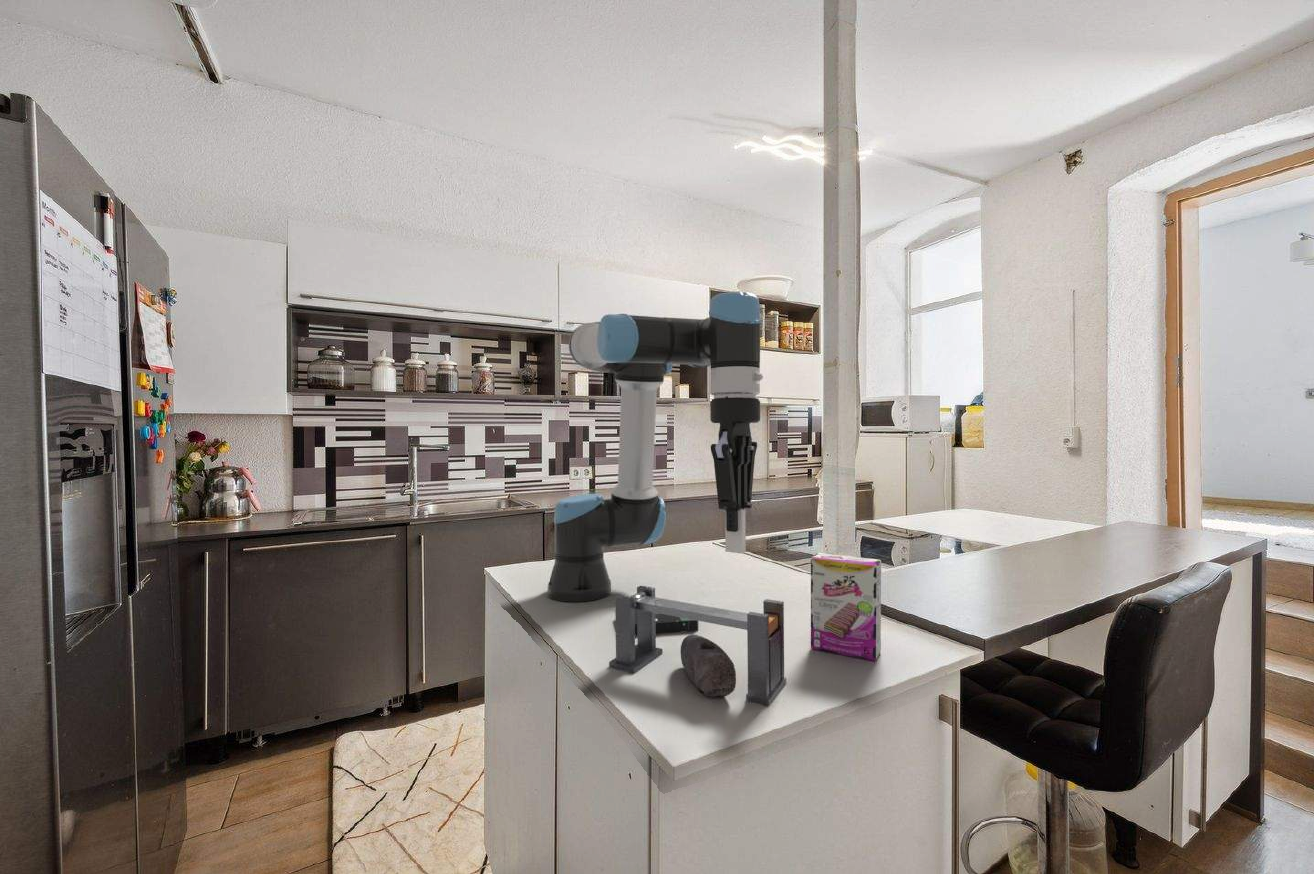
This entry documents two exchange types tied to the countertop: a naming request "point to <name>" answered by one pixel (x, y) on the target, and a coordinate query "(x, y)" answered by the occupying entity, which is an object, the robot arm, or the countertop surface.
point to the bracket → (626, 650)
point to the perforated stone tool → (708, 666)
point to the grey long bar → (697, 612)
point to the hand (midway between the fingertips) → (735, 551)
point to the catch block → (765, 654)
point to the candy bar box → (846, 605)
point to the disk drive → (671, 624)
